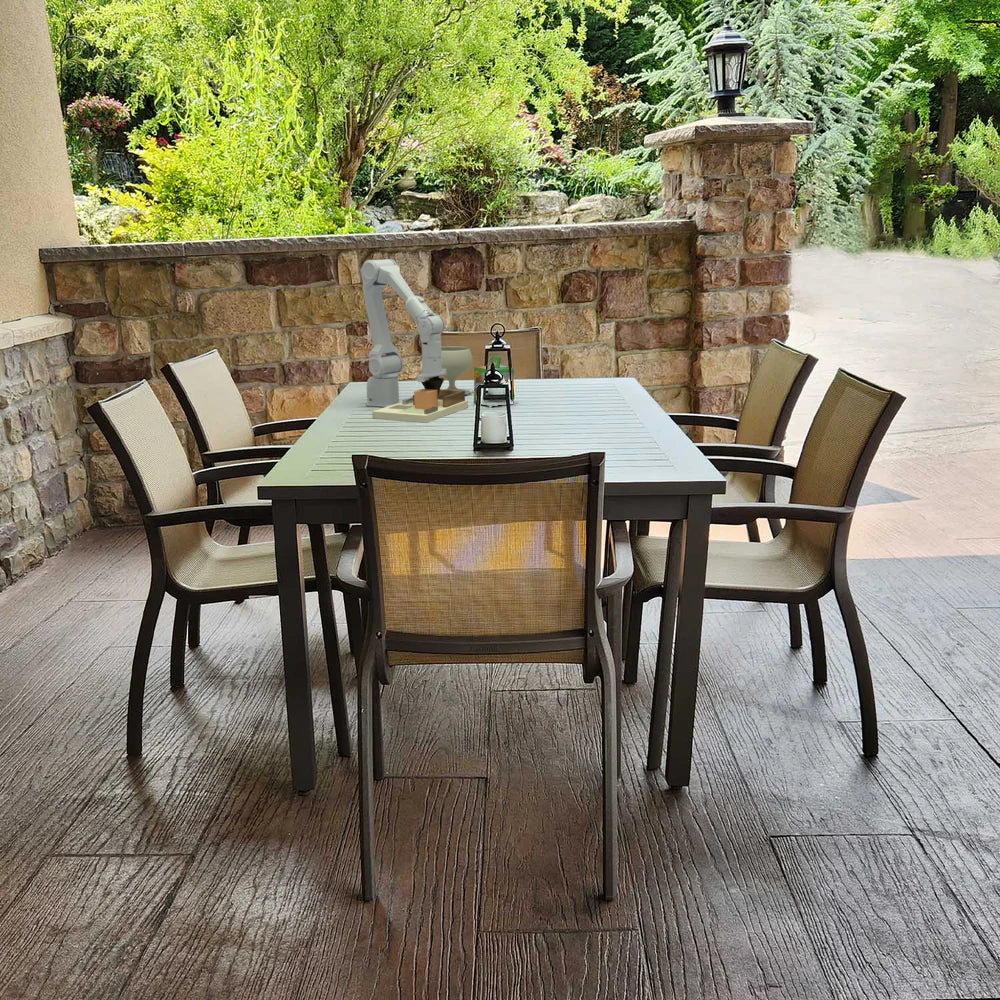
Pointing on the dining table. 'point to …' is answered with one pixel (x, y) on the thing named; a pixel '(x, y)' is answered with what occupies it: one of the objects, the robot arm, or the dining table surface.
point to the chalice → (456, 363)
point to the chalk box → (480, 372)
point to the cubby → (450, 397)
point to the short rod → (430, 410)
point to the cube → (425, 398)
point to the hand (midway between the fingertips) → (433, 402)
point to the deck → (416, 412)
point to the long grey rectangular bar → (407, 401)
